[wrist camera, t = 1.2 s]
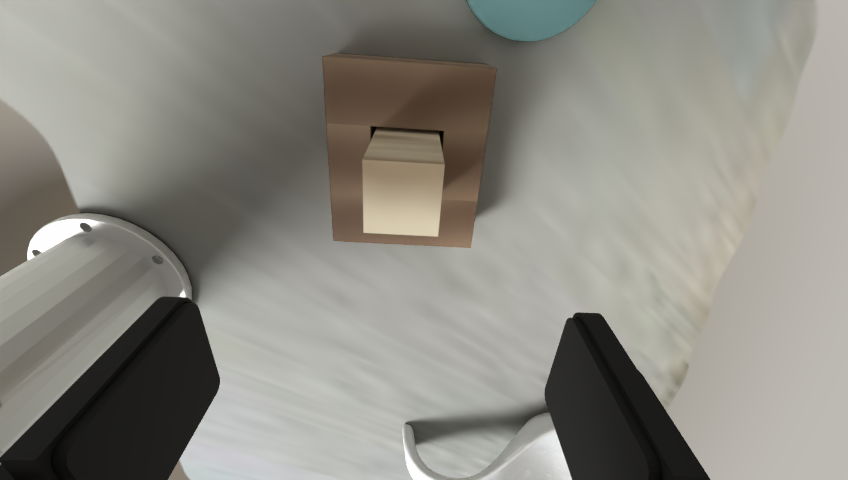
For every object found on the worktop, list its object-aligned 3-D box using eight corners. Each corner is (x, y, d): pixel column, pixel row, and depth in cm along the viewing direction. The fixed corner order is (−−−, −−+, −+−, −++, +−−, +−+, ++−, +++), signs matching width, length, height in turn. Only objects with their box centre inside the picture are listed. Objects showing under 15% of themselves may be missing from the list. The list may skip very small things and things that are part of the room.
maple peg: (432, 175, 29) (438, 236, 20) (380, 172, 29) (363, 232, 20) (436, 122, 27) (444, 164, 18) (381, 118, 27) (362, 159, 18)
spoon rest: (610, 391, 41) (645, 455, 35) (594, 453, 47) (621, 518, 41) (399, 402, 42) (395, 467, 36) (408, 462, 48) (406, 528, 41)
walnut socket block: (464, 223, 31) (470, 247, 27) (343, 217, 30) (333, 240, 27) (485, 64, 25) (496, 68, 22) (336, 53, 25) (322, 56, 21)
